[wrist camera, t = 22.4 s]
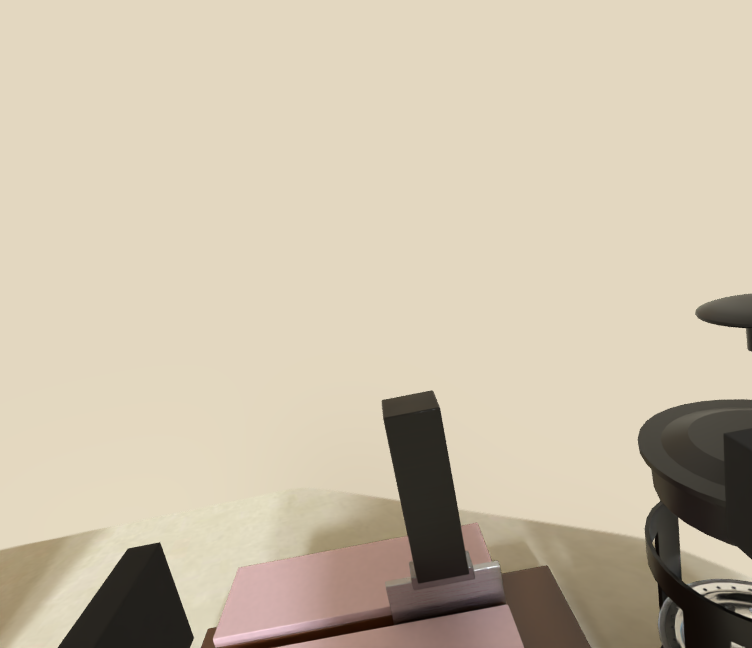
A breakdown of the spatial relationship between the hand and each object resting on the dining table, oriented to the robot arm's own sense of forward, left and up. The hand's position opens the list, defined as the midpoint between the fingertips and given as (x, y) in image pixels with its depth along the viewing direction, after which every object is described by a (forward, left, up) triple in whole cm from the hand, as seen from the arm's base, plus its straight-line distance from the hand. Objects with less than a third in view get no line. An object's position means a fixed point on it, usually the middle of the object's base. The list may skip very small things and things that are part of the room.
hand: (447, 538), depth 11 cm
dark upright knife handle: (0, -11, -20) cm, 23 cm away
